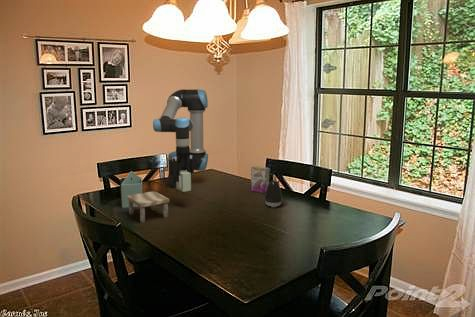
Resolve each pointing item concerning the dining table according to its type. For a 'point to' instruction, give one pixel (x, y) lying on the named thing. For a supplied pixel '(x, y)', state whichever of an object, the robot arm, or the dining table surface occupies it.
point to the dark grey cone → (273, 194)
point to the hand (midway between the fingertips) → (183, 186)
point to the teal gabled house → (130, 188)
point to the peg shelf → (147, 203)
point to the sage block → (185, 181)
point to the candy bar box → (259, 178)
